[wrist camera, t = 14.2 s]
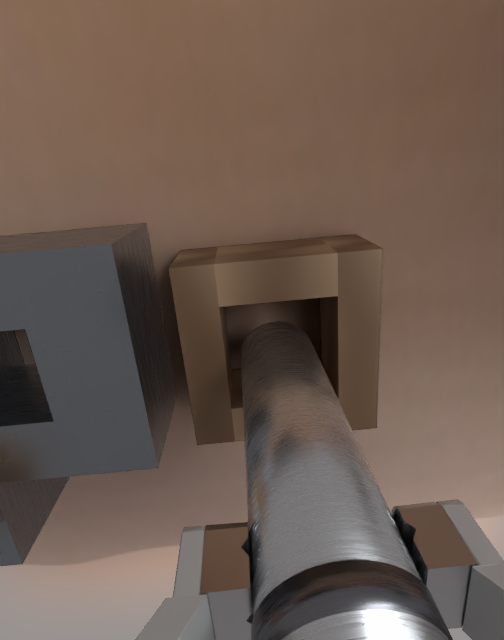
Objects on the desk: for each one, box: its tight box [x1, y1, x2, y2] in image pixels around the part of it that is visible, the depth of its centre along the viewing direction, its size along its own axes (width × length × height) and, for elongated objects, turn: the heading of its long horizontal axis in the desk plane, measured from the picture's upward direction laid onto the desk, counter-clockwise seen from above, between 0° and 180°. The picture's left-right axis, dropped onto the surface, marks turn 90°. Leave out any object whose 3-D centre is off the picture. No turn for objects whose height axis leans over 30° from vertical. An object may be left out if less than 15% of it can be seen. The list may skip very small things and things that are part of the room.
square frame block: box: [169, 234, 383, 445], centre depth 20 cm, size 9×9×4 cm
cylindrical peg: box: [241, 321, 453, 640], centre depth 12 cm, size 4×4×13 cm
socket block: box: [0, 223, 177, 566], centre depth 20 cm, size 12×15×6 cm
